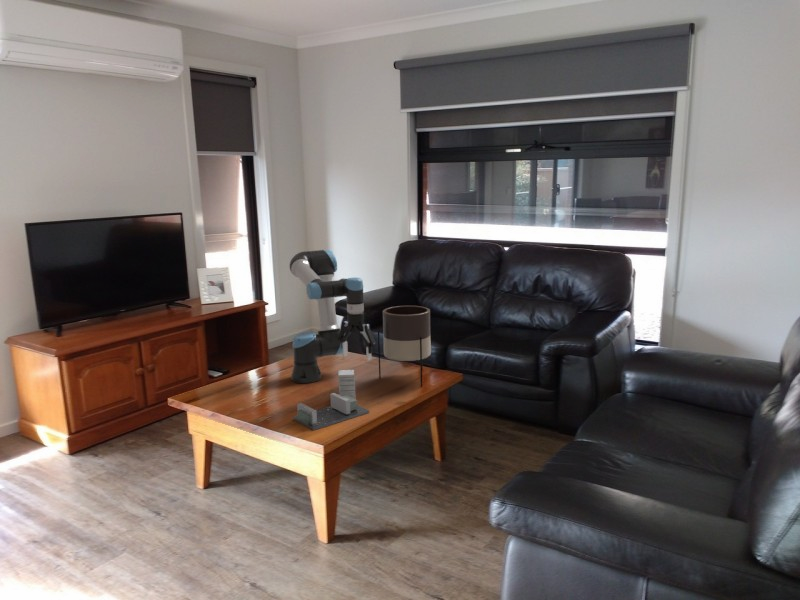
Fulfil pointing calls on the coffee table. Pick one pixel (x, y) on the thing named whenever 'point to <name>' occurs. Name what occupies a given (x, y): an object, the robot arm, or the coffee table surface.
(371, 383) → the coffee table surface
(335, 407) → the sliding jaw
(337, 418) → the vise
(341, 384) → the supplement box
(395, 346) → the planter
